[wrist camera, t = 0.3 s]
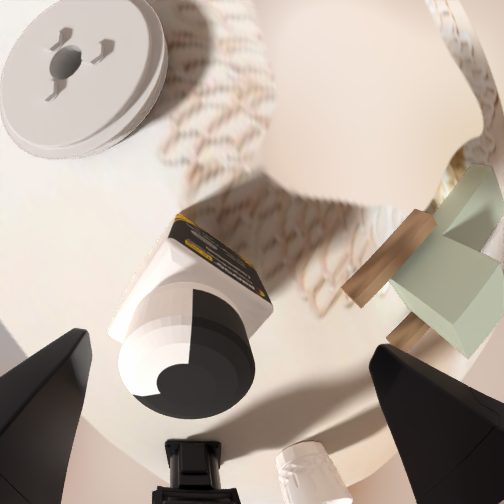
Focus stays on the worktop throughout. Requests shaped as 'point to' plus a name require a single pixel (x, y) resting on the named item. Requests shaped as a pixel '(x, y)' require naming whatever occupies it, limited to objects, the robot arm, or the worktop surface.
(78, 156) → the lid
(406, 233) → the walnut slot
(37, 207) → the worktop surface
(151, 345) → the medicine bottle
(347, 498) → the white cup
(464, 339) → the key block
